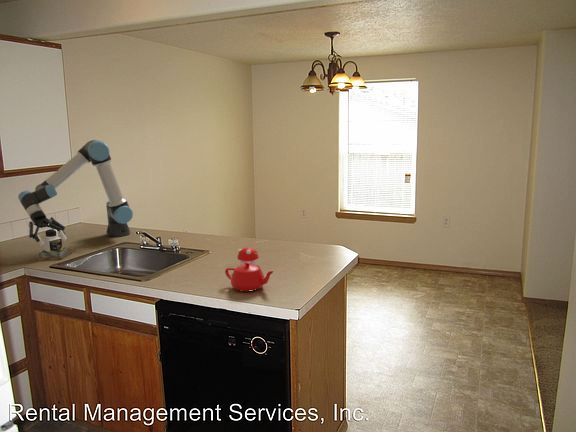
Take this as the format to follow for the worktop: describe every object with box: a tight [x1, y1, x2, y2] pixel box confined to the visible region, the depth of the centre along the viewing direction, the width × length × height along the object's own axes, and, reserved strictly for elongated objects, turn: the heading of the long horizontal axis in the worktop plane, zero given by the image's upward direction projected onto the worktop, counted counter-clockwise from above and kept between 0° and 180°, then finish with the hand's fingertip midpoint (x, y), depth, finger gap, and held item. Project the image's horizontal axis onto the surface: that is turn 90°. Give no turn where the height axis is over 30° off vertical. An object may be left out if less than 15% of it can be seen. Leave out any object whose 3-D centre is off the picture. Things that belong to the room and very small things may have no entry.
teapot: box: [224, 262, 275, 292], centre depth 213 cm, size 25×16×12 cm, turn 66°
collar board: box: [35, 247, 73, 261], centre depth 269 cm, size 14×14×4 cm
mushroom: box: [237, 246, 260, 266], centre depth 238 cm, size 11×11×12 cm
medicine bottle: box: [42, 228, 64, 253], centre depth 267 cm, size 7×7×12 cm
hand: (54, 242), depth 267 cm, fingers open, 13 cm apart
